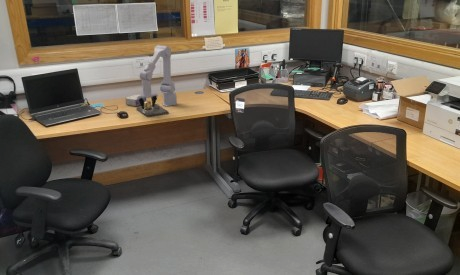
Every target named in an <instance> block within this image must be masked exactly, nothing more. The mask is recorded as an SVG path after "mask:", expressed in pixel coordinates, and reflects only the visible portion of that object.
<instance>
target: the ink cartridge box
mask: <svg viewBox="0 0 460 275" xmlns="http://www.w3.org/2000/svg"><path fill="white" fill-rule="evenodd" d="M140 95H141V94H138V93H137V94H136V93H135V94H133V95H131V96H128V97H125V105H127V106H131V107H138V106H139V107H140V106H141V104H140V102H139V100H138V99H137V96H140ZM143 100H144V104H145V101H147V98H144V99H143Z"/></svg>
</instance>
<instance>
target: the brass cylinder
mask: <svg viewBox="0 0 460 275" xmlns="http://www.w3.org/2000/svg"><path fill="white" fill-rule="evenodd" d="M151 105H152V101H151V100H146V101H145V103H144V106H145V110H151Z"/></svg>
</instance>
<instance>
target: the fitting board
mask: <svg viewBox="0 0 460 275" xmlns="http://www.w3.org/2000/svg"><path fill="white" fill-rule="evenodd" d="M135 108H136V112H137V111H138V112H139V113H140V114H142V115H143V116H145V117H146V118H151V117H157V116H163V115H169V112H170V111H169V110H167V109H165V108H164V107H162V106H160V104H159V103H155V107H152V104H151V110H145V105H144V109H142V107H141V106H139V107H138V106H137V107H135Z"/></svg>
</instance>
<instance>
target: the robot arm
mask: <svg viewBox="0 0 460 275" xmlns="http://www.w3.org/2000/svg"><path fill="white" fill-rule="evenodd" d="M153 51H154V53H153V55H152V57H151V60H150V61H149V62H147V64H146V66H144V70H142V71H141V72H140V74H139V78H140V81H141V87H142V94H139V95H140V96H137V99H138V100H139V102H140V104H141V105H140V107H142V109H144V106H145V103H144V100H143V99H144V98H146V99H149V98H151V105H152V107H155V104H156V103H157V100H158V97H159V95H158V93H157V92H155V93H154V92H153V93H152V82H151V80H152V78H153V73H154V71H155V69H156V68H157V66H156V64H157V62H158V61H159V59H160V57H161V58H162V67H163V69H162V70H163V74H162V76H163V80H162V81H161V82H160V85H159V89H160V92H161V93H162V99H163V102H161V105H163V106H165V107H170V106H177V105H178V100H177V94H176V92H175V90H176V86H175V82H174V81H173V80H172V76H171V75H172V74H171V72H172V70H171V69H172V68H171V64H172V63H171V62H172V61H171V57H172V48H171V47H170V46H169V45H158V44H156V46H154V49H153Z"/></svg>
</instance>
